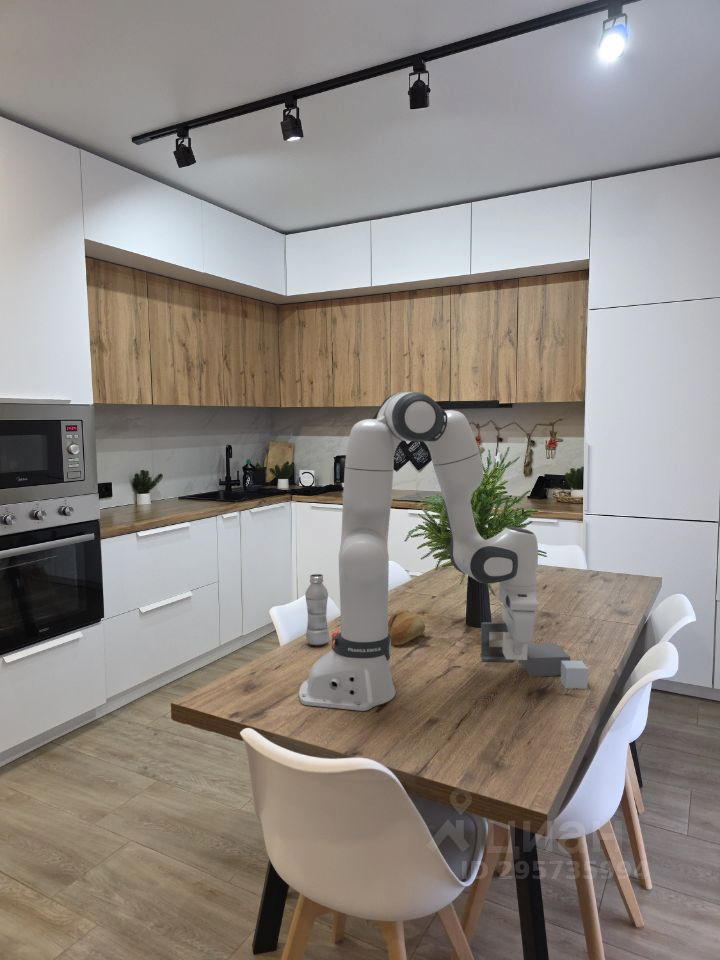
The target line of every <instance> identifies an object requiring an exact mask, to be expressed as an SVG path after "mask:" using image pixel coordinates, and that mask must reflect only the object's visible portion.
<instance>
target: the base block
mask: <svg viewBox="0 0 720 960" xmlns="http://www.w3.org/2000/svg"><path fill="white" fill-rule="evenodd" d="M517 661H518V663H519V664H520V666H521V667H522V666H523V667H522V668H523V669H524V671H525V672H526V671H527V672H526V673H527V674H528V676H529V677H530V676H531V677H553V676H554V677H555V676H556V677H557V676H558V675H561V661H571V656H570V655H569V653H567V652H566V651H565V650H564V649H563V648H562V647H561V646H560V645H558V644H557V643H556V642H549V643H548V642H547V643H546V642H545V643H544V642H543V643H530V644H528V649H527V660H517ZM558 677H559V676H558Z"/></svg>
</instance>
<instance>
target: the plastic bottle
mask: <svg viewBox="0 0 720 960" xmlns="http://www.w3.org/2000/svg"><path fill="white" fill-rule="evenodd" d="M309 583H310V584H309V585H308V587H307V589H306V591H305V595H304V596H305V601H306V602H305V603H306V610H307V624H306V625H307V626H306V627H307V628H306V631H305V632H306V634H305V638H306V642H307V643H308V644H309V645H311V646H323V645H326V644H327V643H328V642H329V638H330V632H329V627H328V620H327V619H328V618H327V607H328V599H329V592H328V589H327V588H326V585H324V584H323V583H324V575H323V574H322V573H321V574H319V573H313V574H310V575H309Z"/></svg>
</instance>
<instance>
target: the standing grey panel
mask: <svg viewBox="0 0 720 960" xmlns="http://www.w3.org/2000/svg"><path fill="white" fill-rule="evenodd" d="M480 626H481V629H480V631H481V632H480V633H481V634H480V635H481V636H480V638H481V639H480V640H481V641H480V653H479V654H480V659H481V662H482V663H483V662H492V663H495V662H496V663H500V662H501V663H513V662H514V660H512V659H506V658H505V656H504V654H503V652H502V651H503V632H508V629H507V626H506V624H505V622H481V625H480Z"/></svg>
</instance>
